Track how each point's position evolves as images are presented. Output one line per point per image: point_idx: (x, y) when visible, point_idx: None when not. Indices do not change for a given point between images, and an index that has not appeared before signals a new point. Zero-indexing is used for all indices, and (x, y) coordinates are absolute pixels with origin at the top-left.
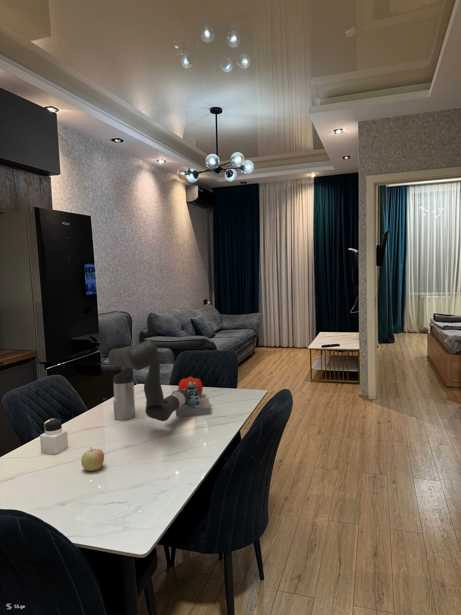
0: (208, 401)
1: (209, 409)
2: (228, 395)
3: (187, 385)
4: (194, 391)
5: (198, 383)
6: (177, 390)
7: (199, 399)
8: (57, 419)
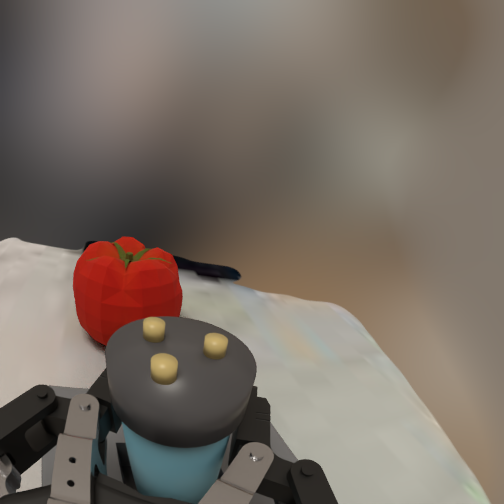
0: (279, 439)
1: None
2: (273, 328)
3: (121, 392)
4: (251, 496)
5: (172, 280)
6: (5, 413)
7: None
8: None
